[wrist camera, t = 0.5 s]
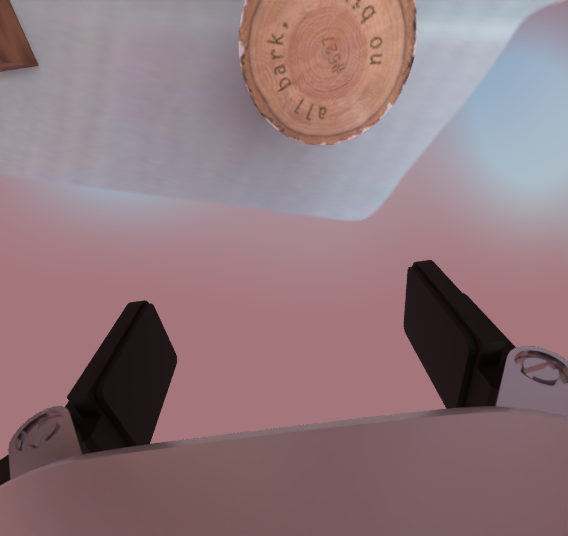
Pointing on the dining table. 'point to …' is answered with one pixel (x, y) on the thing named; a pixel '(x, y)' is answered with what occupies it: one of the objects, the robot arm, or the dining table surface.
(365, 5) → the brown bark cylinder
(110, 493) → the robot arm
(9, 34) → the walnut block
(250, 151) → the dining table surface
